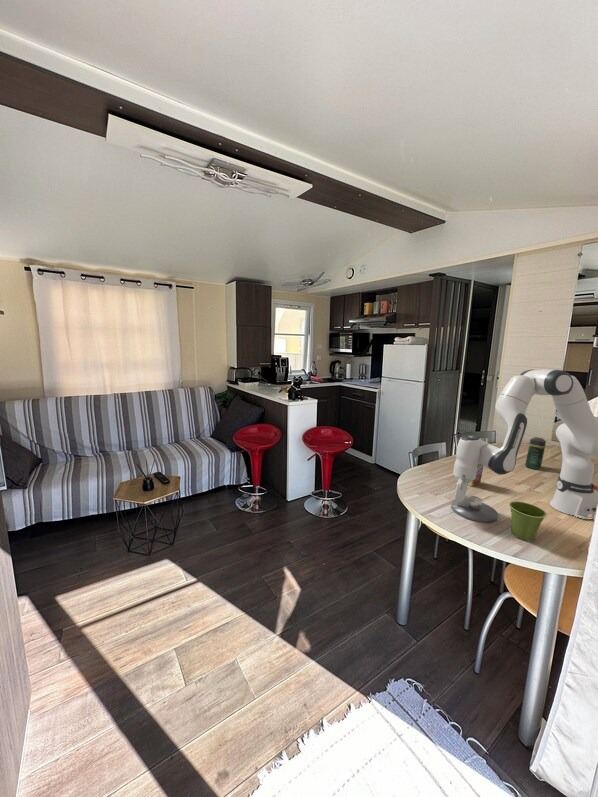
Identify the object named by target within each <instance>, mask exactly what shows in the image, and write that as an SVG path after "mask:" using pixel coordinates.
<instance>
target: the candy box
mask: <svg viewBox="0 0 598 797" xmlns="http://www.w3.org/2000/svg"><path fill="white" fill-rule="evenodd" d="M483 471H484V466H483V465H481V464H478V465H477V473H476V479H474V480H472V482H469V483H468V486H469V487H474V486H476V485H479V484H481V482H482V476H483Z"/></svg>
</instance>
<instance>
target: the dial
mask: <svg viewBox="0 0 598 797" xmlns="http://www.w3.org/2000/svg"><path fill="white" fill-rule="evenodd" d="M457 501H458V500H457ZM482 503H483V499H481V497H479V496H475V495H470V496H466V495H465V499H464V501H462V503H458V502H457V505H459V506H464V507H469V508H470V509H472V510H476V511H479V510H481V504H482Z"/></svg>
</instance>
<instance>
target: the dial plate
mask: <svg viewBox="0 0 598 797" xmlns="http://www.w3.org/2000/svg"><path fill="white" fill-rule="evenodd" d="M450 507H451V508H450V509H451V510H452V511H453V512H454V513H455V514H457V515H458V516H460V517H462V518H463V519H466V520H469V521H471V522H476V523H481V524H491V523H495V522H497V520H498V518H499V514H498V512H497V510H496V509H495V508H493V507H492V506H491V505H488V504H486V503H484V502H482V504H481V510H479V511H476V510H472V509H470V508H469V507H464V506H459V505H457V499H454V500H452V501H451V506H450Z"/></svg>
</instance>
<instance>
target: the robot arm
mask: <svg viewBox="0 0 598 797" xmlns="http://www.w3.org/2000/svg"><path fill="white" fill-rule="evenodd" d="M535 395H540V396H551V397H552V401H553V403H554V406H555V409H556V412H557V415H558V417H559V419H560V420H561V422H562V423H561V424H560V425H558V427H557V428H556V430H555V436H556V439H557V440H558V443H559V445H560V451H561V459H562V462H561V469H560V473H559V475H558V478H557V482H556V489H555V492H554V494H553V497H552V498H551V500H550V502H549V505H550V507H552V508H553V509H554V510H556V511H559V512H561V513H564V514H565V515H569V514H570V516H572V515H574V516H573V517H575V516H576V517H575V518H577V517H579V518H582V519H581V520H583V519H587V518H589V517H588V515H589V514H592V517H590V518H592V519H593V520H592V521H595V520H594V515H595V512H596V506H597V504H598V494H597V493H596V492H595V491H597V492H598V485H597V484H593V483H592V482H593V477H594V473H595V472H594V471H595V466H594V463H593V462H592V460H591V458H590V456H592V457H596V458H597V457H598V419H597V418H596V416H595V415H594V413H593V412H592V409H591V406H590V404H589V401H588V399H587V396H586V393H585V390H584V389H583V386H582V385H581V383H580V381H579V380H578V379H577V377H576V376H574V375H571V374H570V373H569V372H567V371H565V370H562V369H551V368H542V369H528V370H527V369H526V370H525V371H523V372H521V373H520V374H518V375H514V376H512V377H511V378H510V379H509V380H508V382H507V383H506V385H505V386H504V387H503V389H502V390H501V392H500V394H499V396H498V397H497V399H496V401H495V406H494V407H495V412H496V414H497V415H498V416H499V418H501V419H502V420H503V421H504V422H505V423H506V425H507V428H508V429H507V432H506V435H505V438H504V440H503V444H502V446H501V447H497V446H495V445H493V444H490V443H489V442H486V441H484V440H483V439H482V438H481V437H480V436H478V435H475V434H464V435H462V436H461V437H460V438H459V440H458V443H457V447H456V453H455V455H456V456H455V457H456V459H455V461H454V465H453V470H452V471H453V472H452V475H454V476H455V479H456V480H457V483H456V488H455V492H454V493H455V494H454V500H456V499H457V500H458V501H457V502H458V503H462V501H464V499H465V496H466V494H467V491H468V486H469V485H468V483H469V482H472V480H474V479H476V473H477V465H478V464H481V465H483V467H485V468H487V469H489V470H490V471H492V472H494V473H495V474H496V475H499V476H500V475H502V476H503V475H506V474H509V473H511V472H512V471H514V469H515V467H516V464H517V458H518V453H519V449H520V446H521V444H522V441H523V439H524V435H525V433H526V430H527V426H528V418H527V416H526V412H527V408H528V406H529V404H530V402H531V401H532V398H533V397H534V396H535ZM579 518H578V519H579Z"/></svg>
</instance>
